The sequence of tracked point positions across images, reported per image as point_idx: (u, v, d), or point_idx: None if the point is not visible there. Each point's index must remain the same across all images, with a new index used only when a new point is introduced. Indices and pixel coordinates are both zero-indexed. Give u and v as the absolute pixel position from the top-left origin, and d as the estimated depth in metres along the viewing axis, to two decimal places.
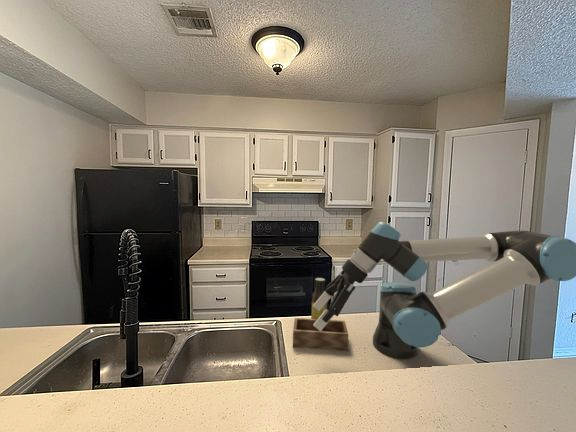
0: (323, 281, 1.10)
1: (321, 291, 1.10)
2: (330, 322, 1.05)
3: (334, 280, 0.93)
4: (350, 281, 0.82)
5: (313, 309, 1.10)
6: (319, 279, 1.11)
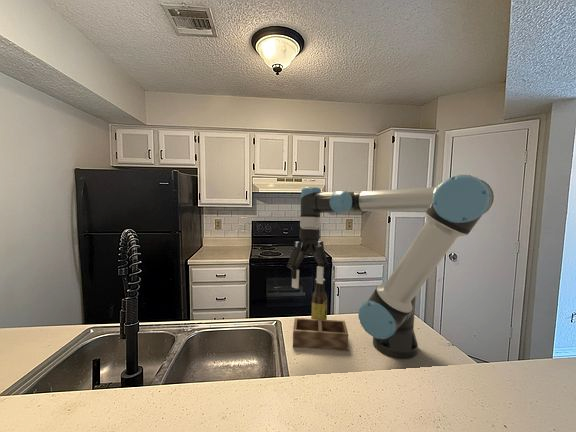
0: (323, 281, 1.10)
1: (321, 291, 1.10)
2: (330, 322, 1.05)
3: (318, 253, 1.09)
4: (302, 241, 1.01)
5: (313, 309, 1.10)
6: None
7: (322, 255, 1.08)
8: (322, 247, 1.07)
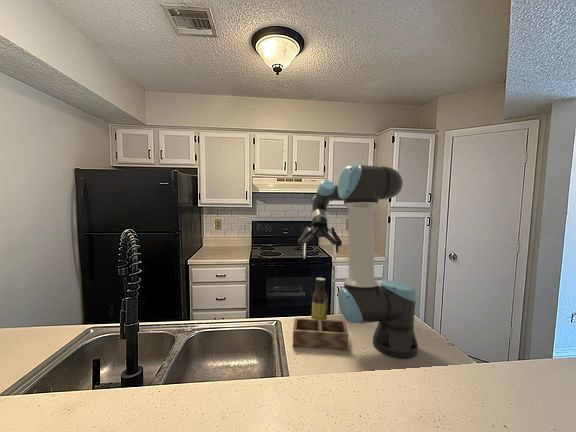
0: (323, 281, 1.10)
1: (321, 291, 1.10)
2: (330, 322, 1.05)
3: (334, 238, 1.31)
4: (311, 228, 1.34)
5: (313, 309, 1.11)
6: (320, 279, 1.11)
7: (335, 237, 1.29)
8: (333, 231, 1.31)
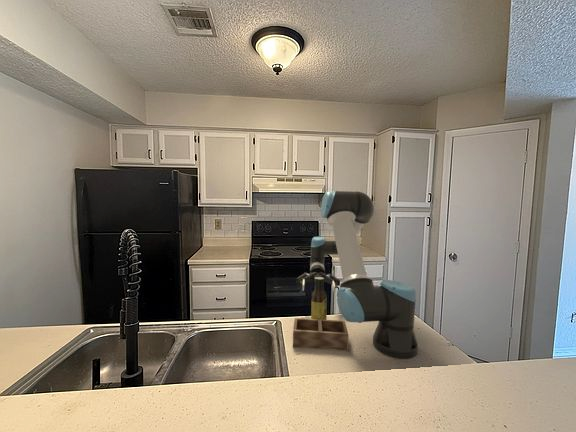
0: (322, 280, 1.11)
1: (320, 290, 1.11)
2: (330, 322, 1.05)
3: None
4: (310, 274, 1.38)
5: (312, 308, 1.11)
6: (318, 278, 1.12)
7: (333, 279, 1.32)
8: (331, 275, 1.35)
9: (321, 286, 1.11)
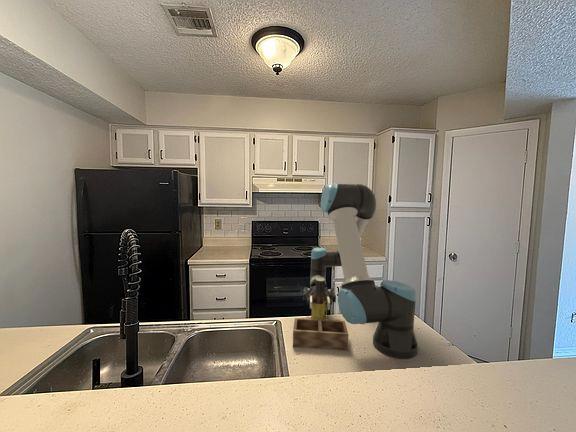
0: (323, 281, 1.09)
1: (321, 291, 1.09)
2: (330, 322, 1.05)
3: None
4: None
5: (313, 309, 1.10)
6: (319, 279, 1.11)
7: (331, 294, 1.18)
8: (331, 290, 1.21)
9: (322, 288, 1.10)
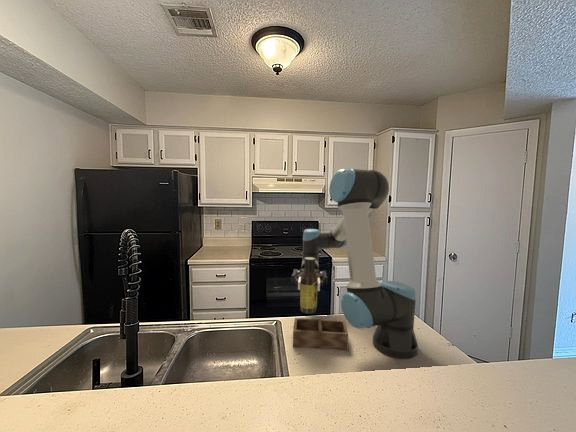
0: (313, 260, 0.99)
1: (310, 271, 0.99)
2: (330, 322, 1.05)
3: None
4: None
5: (301, 291, 1.00)
6: (309, 258, 1.00)
7: (323, 276, 1.07)
8: (323, 272, 1.10)
9: (311, 267, 0.99)
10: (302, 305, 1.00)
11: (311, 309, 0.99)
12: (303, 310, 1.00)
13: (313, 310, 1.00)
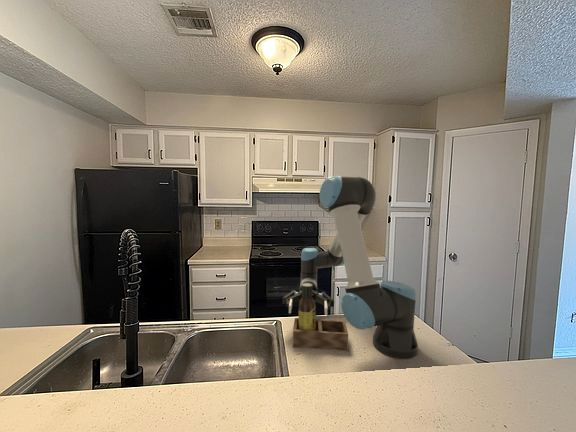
0: (310, 287, 1.00)
1: (308, 298, 1.00)
2: (330, 322, 1.05)
3: None
4: None
5: (300, 318, 1.00)
6: (306, 285, 1.01)
7: (326, 298, 1.08)
8: (324, 293, 1.11)
9: (309, 294, 1.00)
10: None
11: None
12: None
13: None
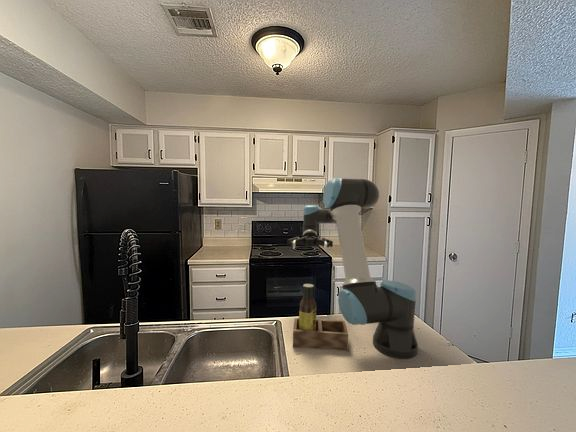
0: (311, 288, 0.99)
1: (309, 299, 0.99)
2: (330, 322, 1.05)
3: None
4: None
5: (300, 318, 1.00)
6: (307, 285, 1.00)
7: (326, 241, 1.26)
8: (323, 238, 1.29)
9: (310, 295, 0.99)
10: None
11: None
12: None
13: None
